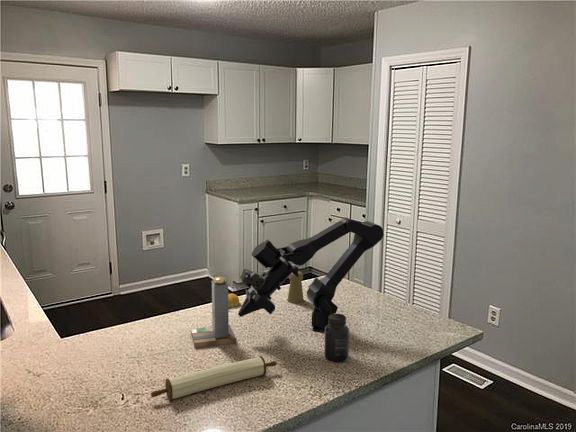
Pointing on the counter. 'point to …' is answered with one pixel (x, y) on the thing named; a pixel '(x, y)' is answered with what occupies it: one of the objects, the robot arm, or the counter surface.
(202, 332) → the board
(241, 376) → the rolling pin
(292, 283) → the cork
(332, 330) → the supplement bottle
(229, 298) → the bread roll
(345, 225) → the robot arm
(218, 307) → the grey square pillar
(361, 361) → the counter surface
